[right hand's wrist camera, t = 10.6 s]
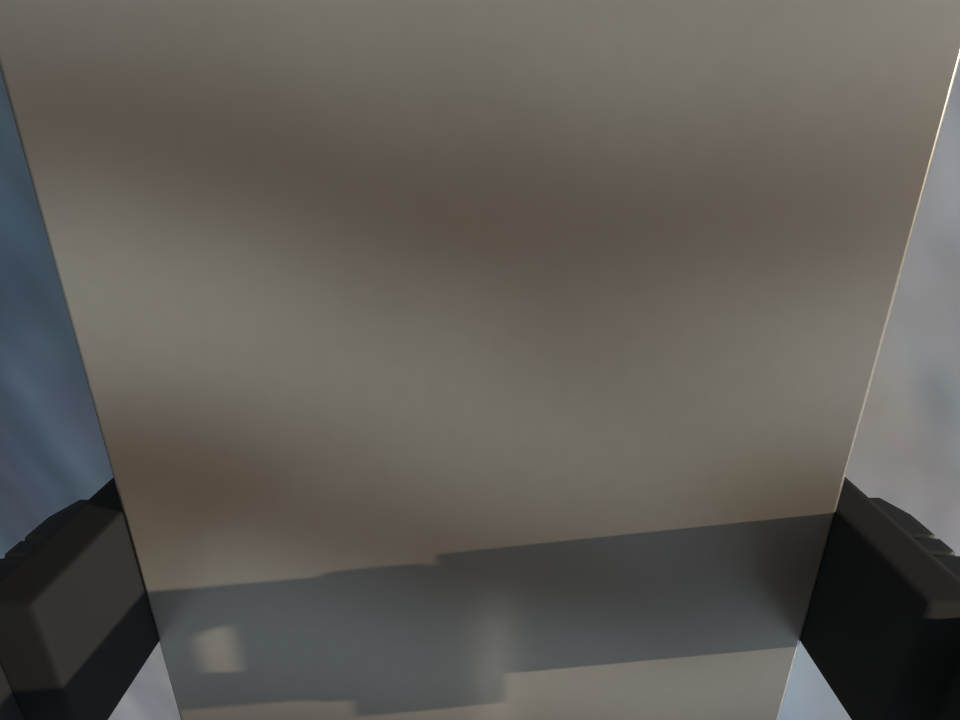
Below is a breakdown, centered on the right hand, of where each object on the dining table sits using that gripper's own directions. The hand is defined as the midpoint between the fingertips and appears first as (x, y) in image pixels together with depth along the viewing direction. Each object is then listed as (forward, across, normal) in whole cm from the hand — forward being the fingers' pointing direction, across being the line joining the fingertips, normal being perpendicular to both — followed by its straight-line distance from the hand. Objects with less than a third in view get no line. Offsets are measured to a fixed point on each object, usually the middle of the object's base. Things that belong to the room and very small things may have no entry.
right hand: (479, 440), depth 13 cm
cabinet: (+4, 0, -6) cm, 7 cm away
